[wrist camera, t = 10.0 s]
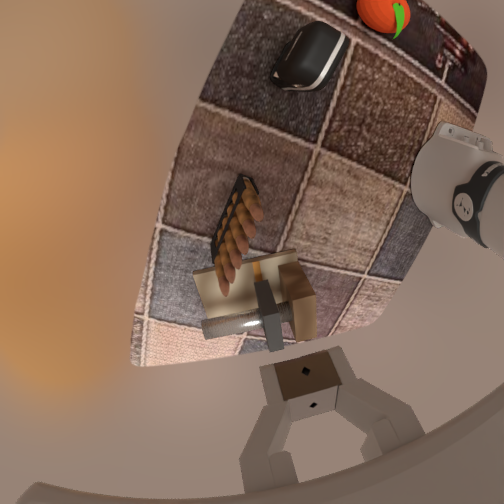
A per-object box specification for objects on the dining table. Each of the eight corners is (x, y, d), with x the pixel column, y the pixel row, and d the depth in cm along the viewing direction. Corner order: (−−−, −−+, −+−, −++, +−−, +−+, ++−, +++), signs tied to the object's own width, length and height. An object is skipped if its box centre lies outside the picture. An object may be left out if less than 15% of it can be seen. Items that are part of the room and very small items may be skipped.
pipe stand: (294, 248, 42) (315, 285, 34) (299, 304, 48) (316, 343, 40) (193, 271, 41) (192, 313, 34) (211, 324, 47) (215, 367, 39)
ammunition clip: (222, 248, 40) (231, 305, 30) (210, 245, 40) (214, 301, 30) (252, 178, 36) (274, 214, 26) (239, 173, 35) (255, 208, 25)
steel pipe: (296, 292, 40) (303, 307, 37) (297, 309, 42) (304, 323, 39) (200, 314, 39) (201, 330, 37) (206, 329, 41) (207, 345, 38)
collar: (267, 279, 40) (279, 312, 34) (273, 315, 44) (284, 348, 38) (253, 282, 40) (263, 316, 34) (260, 318, 44) (269, 352, 38)
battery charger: (284, 34, 27) (320, 10, 17) (312, 49, 28) (356, 33, 19) (259, 80, 30) (285, 72, 20) (287, 93, 31) (324, 93, 21)
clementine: (394, 45, 29) (427, 42, 22) (352, 40, 28) (381, 33, 22) (386, -3, 24) (416, -13, 18) (343, -11, 24) (369, -26, 18)
